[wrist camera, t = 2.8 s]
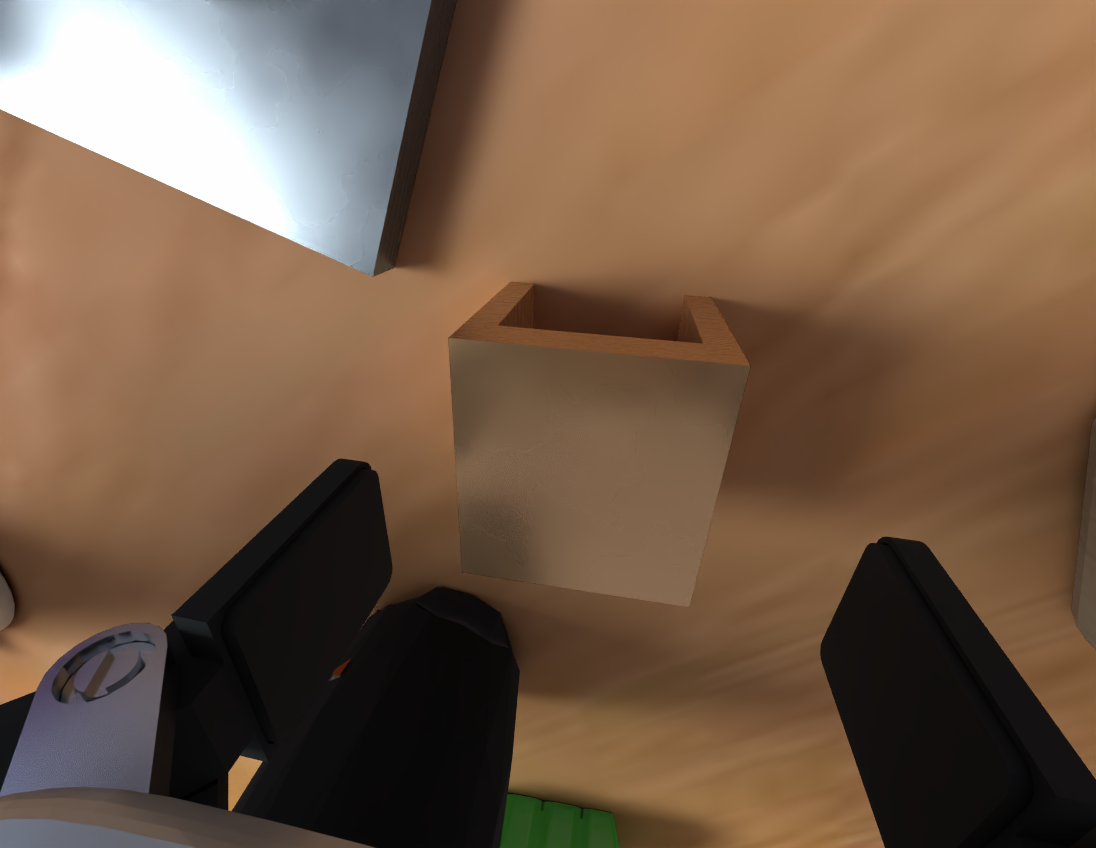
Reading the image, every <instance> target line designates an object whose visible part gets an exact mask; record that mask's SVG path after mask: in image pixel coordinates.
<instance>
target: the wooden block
mask: <svg viewBox="0 0 1096 848" xmlns="http://www.w3.org/2000/svg"><path fill="white" fill-rule="evenodd" d="M1071 610H1072V613H1073V616H1074V619H1075V622H1076V626H1077V627H1078V629H1079V630H1080V632H1081V633H1082V635H1083V636H1084V638H1085V639H1086V640H1087V641H1088V642H1089V643H1090V644H1091V645H1092V646H1093V648H1094V649H1095V650H1096V418H1095V420H1094V421H1093V423H1092V428H1091V437H1090V446H1089V455H1088V464H1087V473H1086V482H1085V491H1084V500H1083V509H1082V518H1081V527H1080V536H1079V545H1078V554H1077V563H1076V572H1075V581H1074V590H1073V599H1072V608H1071Z"/></svg>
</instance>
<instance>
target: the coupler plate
mask: <svg viewBox="0 0 1096 848" xmlns="http://www.w3.org/2000/svg"><path fill="white" fill-rule="evenodd" d="M455 4H456V0H0V109H2V110H4V111H6V112H8V113H10V114H13V115H15V116H17V117H19V118H22V119H24V120H26V121H28V122H30V123H33V124H35V125H37V126H39V127H42V128H44V129H46V130H48V131H50V132H53V133H55V134H57V135H59V136H62V137H64V138H66V139H68V140H70V141H73V142H75V143H77V144H79V145H81V146H84V147H86V148H88V149H90V150H93V151H95V152H97V153H99V154H101V155H104V156H106V157H108V158H110V159H113V160H115V161H117V162H119V163H121V164H124V165H126V166H128V167H130V168H133V169H135V170H137V171H139V172H141V173H144V174H146V175H148V176H150V177H152V178H155V179H157V180H159V181H161V182H164V183H166V184H168V185H170V186H172V187H175V188H177V189H179V190H181V191H184V192H186V193H188V194H190V195H192V196H195V197H197V198H199V199H201V200H204V201H206V202H208V203H210V204H212V205H215V206H217V207H219V208H221V209H223V210H226V211H228V212H230V213H232V214H235V215H237V216H239V217H241V218H243V219H246V220H248V221H250V222H252V223H255V224H257V225H259V226H261V227H263V228H266V229H268V230H270V231H272V232H275V233H277V234H279V235H281V236H283V237H286V238H288V239H290V240H292V241H294V242H297V243H299V244H301V245H303V246H306V247H308V248H310V249H312V250H314V251H317V252H319V253H321V254H323V255H326V256H328V257H330V258H332V259H334V260H337V261H339V262H341V263H343V264H346V265H348V266H350V267H352V268H354V269H357V270H359V271H361V272H363V273H365V274H368V275H370V276H372V277H373V276H376V275H378V274H381V273H383V272H385V271H388V270H390V269H393V268H394V266H395V261H396V257H397V253H398V249H399V244H400V240H401V236H402V231H403V227H404V223H405V219H406V214H407V210H408V206H409V201H410V197H411V193H412V189H413V184H414V180H415V176H416V171H417V167H418V163H419V159H420V154H421V150H422V146H423V141H424V137H425V133H426V129H427V124H428V120H429V116H430V111H431V107H432V103H433V99H434V94H435V90H436V86H437V81H438V77H439V73H440V69H441V64H442V60H443V56H444V51H445V47H446V43H447V38H448V34H449V30H450V26H451V21H452V17H453V13H454V8H455Z"/></svg>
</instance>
